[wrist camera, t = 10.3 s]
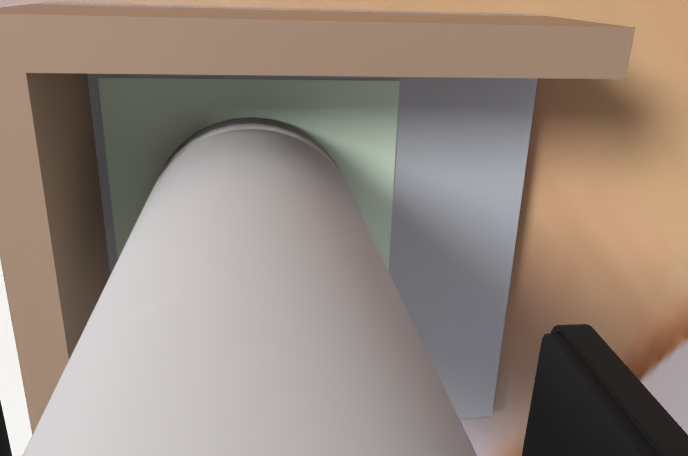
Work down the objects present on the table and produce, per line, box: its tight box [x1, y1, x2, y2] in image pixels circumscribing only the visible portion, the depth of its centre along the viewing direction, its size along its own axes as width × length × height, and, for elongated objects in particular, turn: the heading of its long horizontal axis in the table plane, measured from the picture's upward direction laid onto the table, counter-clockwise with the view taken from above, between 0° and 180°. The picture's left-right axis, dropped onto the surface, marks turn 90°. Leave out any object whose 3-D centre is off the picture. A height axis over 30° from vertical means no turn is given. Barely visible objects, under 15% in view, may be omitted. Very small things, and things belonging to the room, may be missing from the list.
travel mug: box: [23, 117, 477, 456], centre depth 11 cm, size 6×7×20 cm
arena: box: [0, 3, 635, 435], centre depth 19 cm, size 15×15×6 cm
